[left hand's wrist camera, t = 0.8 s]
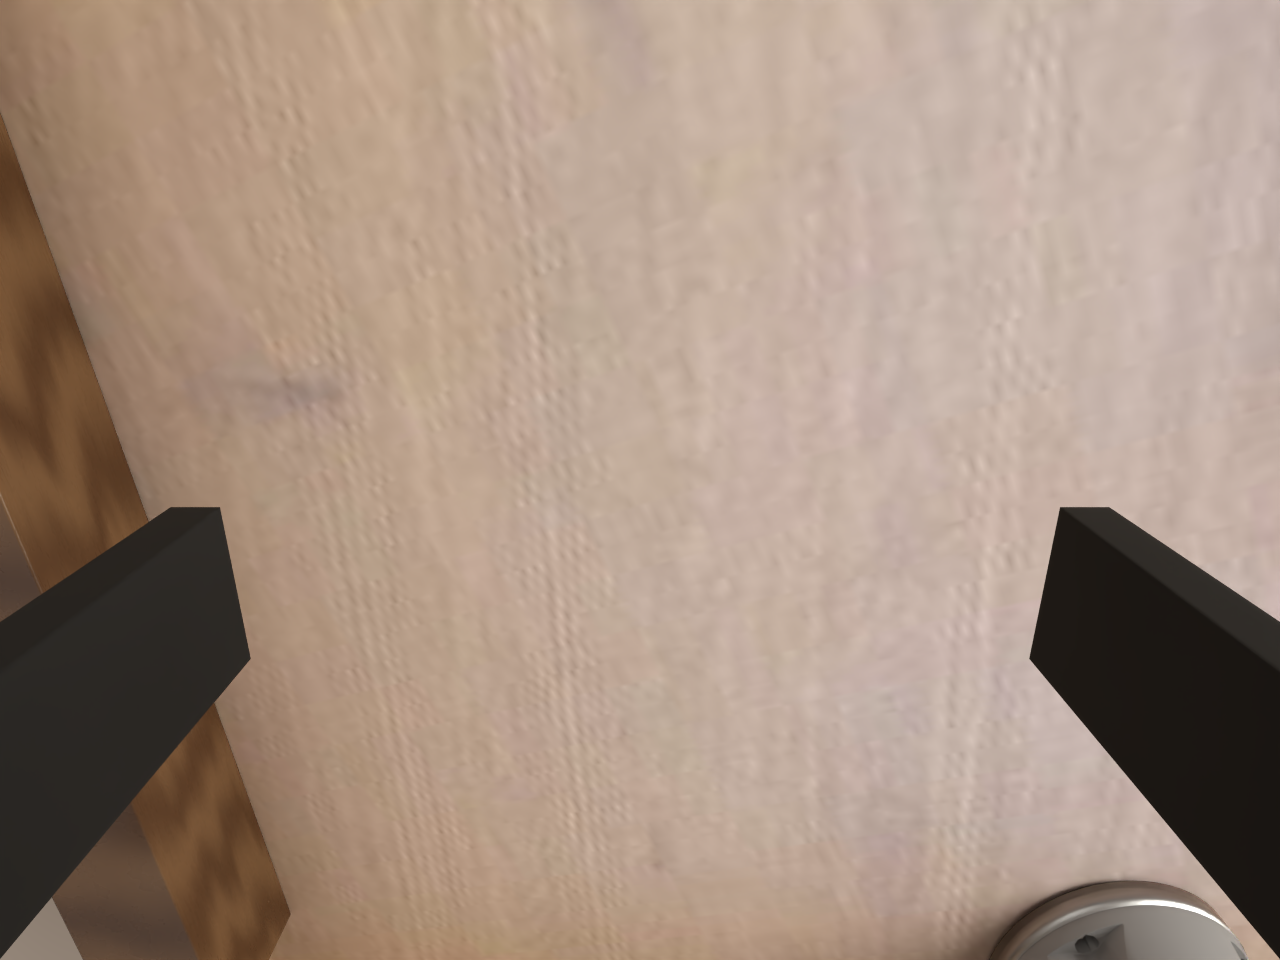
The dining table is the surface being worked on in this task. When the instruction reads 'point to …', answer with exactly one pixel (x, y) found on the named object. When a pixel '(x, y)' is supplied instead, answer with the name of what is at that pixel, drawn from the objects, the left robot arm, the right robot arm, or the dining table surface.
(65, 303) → the bar
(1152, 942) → the right robot arm
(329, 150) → the dining table surface
